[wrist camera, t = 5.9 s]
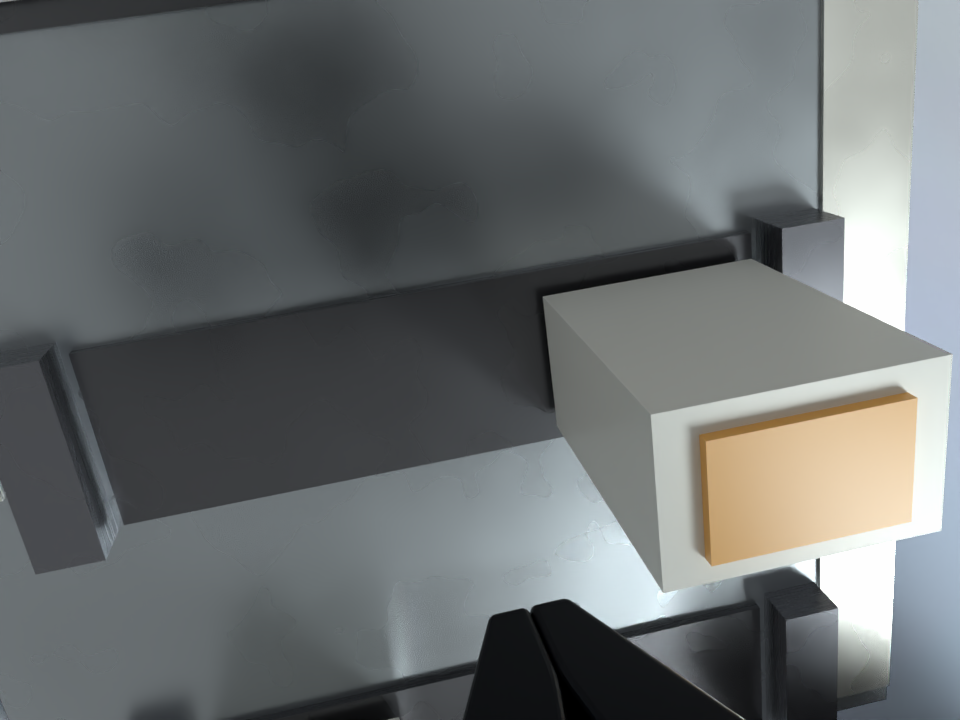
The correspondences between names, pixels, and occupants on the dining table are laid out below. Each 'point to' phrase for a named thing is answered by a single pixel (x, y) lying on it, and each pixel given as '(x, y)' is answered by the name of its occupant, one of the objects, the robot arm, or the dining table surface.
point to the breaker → (747, 419)
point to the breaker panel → (398, 334)
